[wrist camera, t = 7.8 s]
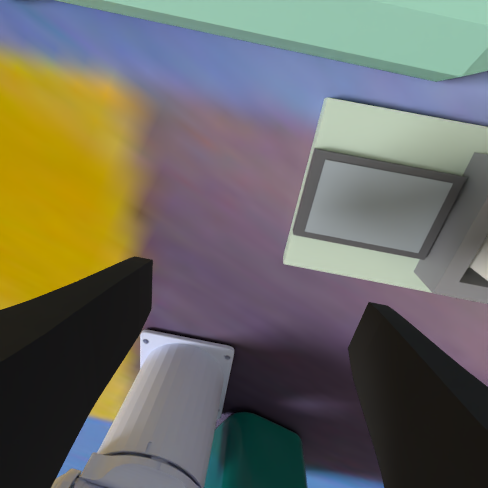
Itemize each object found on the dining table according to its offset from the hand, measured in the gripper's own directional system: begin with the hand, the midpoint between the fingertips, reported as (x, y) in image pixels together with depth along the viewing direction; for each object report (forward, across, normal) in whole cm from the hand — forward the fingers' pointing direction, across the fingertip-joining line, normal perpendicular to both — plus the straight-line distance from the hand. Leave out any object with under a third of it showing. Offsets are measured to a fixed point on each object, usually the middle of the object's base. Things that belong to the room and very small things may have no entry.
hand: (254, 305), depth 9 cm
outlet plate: (+10, -11, -2) cm, 15 cm away
